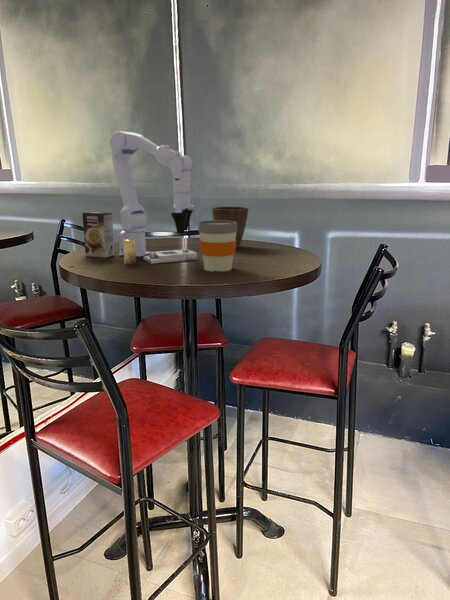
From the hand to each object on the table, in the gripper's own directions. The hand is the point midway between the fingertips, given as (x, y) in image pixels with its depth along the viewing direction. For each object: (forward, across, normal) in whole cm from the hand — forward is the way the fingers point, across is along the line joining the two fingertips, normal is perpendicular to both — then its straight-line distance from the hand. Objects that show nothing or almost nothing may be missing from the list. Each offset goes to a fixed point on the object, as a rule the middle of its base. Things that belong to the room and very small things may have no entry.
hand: (182, 231), depth 164 cm
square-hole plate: (+10, +1, +5) cm, 11 cm away
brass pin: (+10, -7, +17) cm, 21 cm away
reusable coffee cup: (+10, -13, -14) cm, 22 cm away
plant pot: (+10, +30, -14) cm, 35 cm away
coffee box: (+10, +6, +33) cm, 35 cm away
